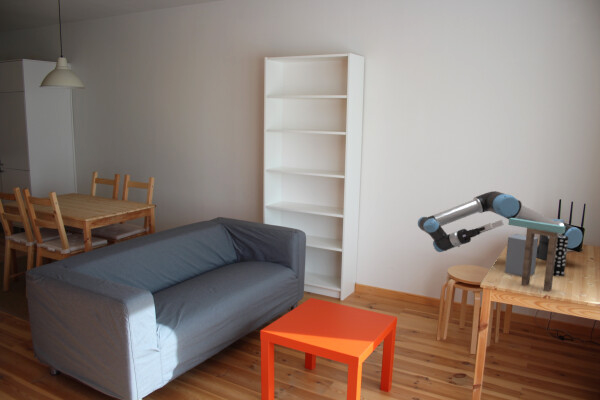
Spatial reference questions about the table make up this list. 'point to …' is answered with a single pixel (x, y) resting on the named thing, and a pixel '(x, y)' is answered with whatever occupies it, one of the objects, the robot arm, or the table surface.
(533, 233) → the stand
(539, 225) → the bar
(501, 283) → the table surface
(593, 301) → the table surface
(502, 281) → the table surface
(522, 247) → the block
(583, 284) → the table surface
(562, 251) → the white-spotted black cylinder
